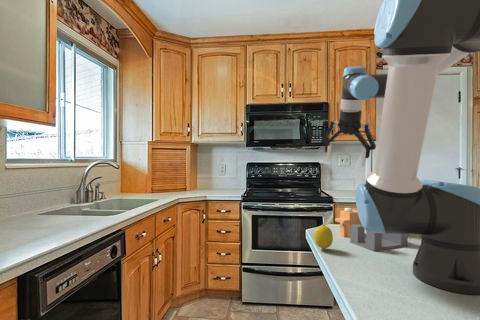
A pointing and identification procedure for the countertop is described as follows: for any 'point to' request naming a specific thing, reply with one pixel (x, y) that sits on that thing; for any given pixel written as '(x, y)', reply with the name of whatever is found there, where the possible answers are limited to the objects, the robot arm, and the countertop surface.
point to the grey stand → (376, 239)
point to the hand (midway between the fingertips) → (345, 162)
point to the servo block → (347, 221)
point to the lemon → (323, 237)
